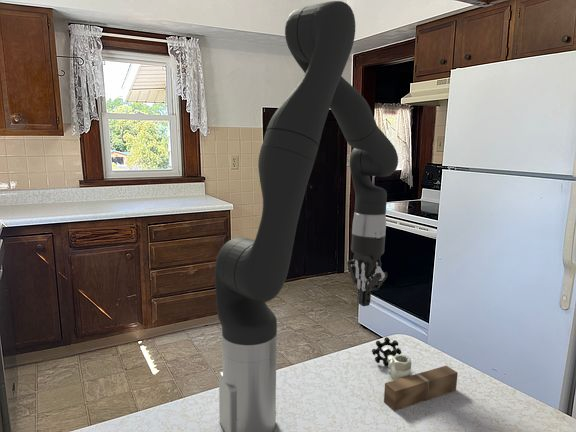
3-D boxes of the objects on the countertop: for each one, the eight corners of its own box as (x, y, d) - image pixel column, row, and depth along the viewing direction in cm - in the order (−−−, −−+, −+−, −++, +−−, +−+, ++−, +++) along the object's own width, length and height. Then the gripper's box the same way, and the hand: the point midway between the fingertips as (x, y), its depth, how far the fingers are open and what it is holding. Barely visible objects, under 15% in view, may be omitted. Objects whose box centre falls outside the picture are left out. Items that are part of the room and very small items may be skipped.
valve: (419, 394, 84) (399, 363, 96) (421, 363, 83) (400, 336, 95) (387, 395, 84) (370, 364, 96) (389, 364, 83) (372, 337, 94)
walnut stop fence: (393, 411, 79) (395, 391, 78) (383, 402, 81) (384, 382, 81) (456, 390, 85) (457, 372, 85) (444, 383, 88) (446, 365, 87)
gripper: (339, 228, 100) (335, 297, 103) (373, 239, 89) (368, 317, 91) (364, 226, 104) (360, 294, 106) (400, 237, 92) (395, 312, 94)
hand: (364, 304), depth 99 cm, fingers closed
